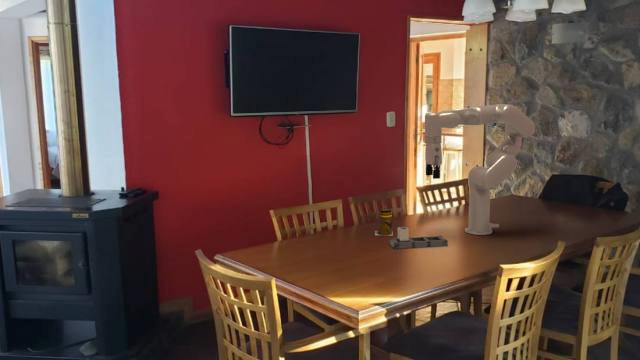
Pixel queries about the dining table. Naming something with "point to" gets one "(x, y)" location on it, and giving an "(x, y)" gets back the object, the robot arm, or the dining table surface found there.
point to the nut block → (403, 234)
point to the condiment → (385, 223)
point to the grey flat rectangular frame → (419, 242)
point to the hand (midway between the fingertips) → (432, 176)
